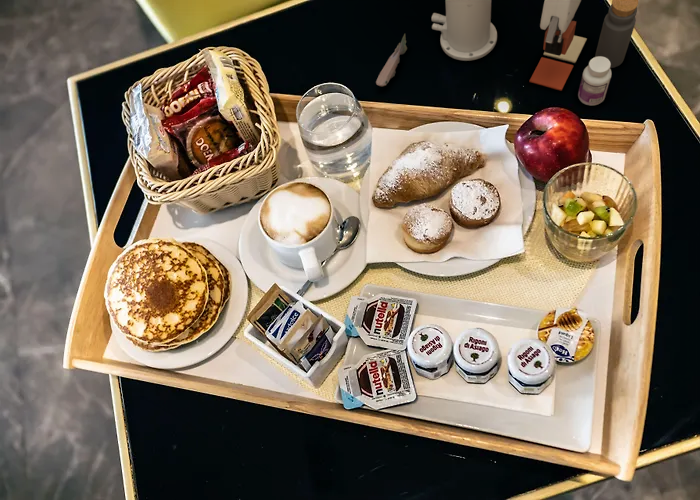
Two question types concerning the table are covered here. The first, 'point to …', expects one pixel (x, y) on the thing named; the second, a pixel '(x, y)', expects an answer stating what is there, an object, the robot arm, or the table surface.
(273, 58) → the table surface
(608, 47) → the bottle
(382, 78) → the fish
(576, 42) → the cream pad
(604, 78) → the pill bottle
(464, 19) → the robot arm
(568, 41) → the terracotta block
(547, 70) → the clay pad
